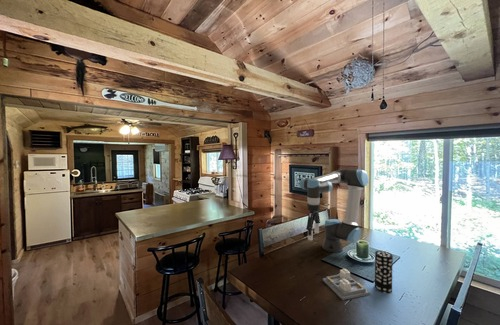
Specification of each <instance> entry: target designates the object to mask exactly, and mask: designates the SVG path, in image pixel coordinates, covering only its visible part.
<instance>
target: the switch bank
mask: <svg viewBox="0 0 500 325" xmlns="http://www.w3.org/2000/svg"><path fill="white" fill-rule="evenodd" d="M340 280H342V279H341V278H340V273H339V274H335V275H328V276H326V277H324V278H322V281H323V282H324V284H326V285H327V286H328V287H329V288H330V289H331V290H332V291H333V293H334V294H336V295H337V296H338V297H339V299H340V300H342V301H346V300H350V299H355V298H359V297H364V296H369V295H371V292H370V291H369V290H367V288H365V287H364V285H362V284H361V283H359V282H358V281H356V280H355V279H354V278H353V277H351V276H350V279H348V281H349V282H350V283H351V291H346V292H344V291H343V290H342V289H341V288H340Z"/></svg>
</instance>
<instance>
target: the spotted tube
mask: <svg viewBox="0 0 500 325" xmlns="http://www.w3.org/2000/svg"><path fill="white" fill-rule="evenodd" d="M374 253H375V254H374V288H375V290H376V291H377V292H380V293H383V294H392V293H393V263H394V262H393V261H394V260H393V254H392V253H391V252H388V251H384V250H375V251H374Z"/></svg>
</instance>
